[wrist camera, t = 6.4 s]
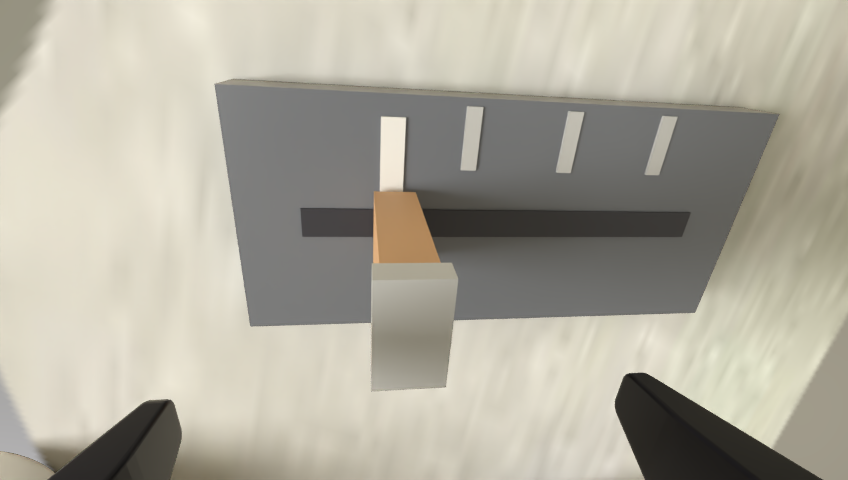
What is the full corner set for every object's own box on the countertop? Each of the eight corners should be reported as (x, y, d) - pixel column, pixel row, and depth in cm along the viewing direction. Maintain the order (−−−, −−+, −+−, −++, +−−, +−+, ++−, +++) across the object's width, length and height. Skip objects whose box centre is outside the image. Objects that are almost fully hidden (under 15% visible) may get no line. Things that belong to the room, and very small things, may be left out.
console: (668, 291, 23) (696, 314, 21) (260, 300, 20) (249, 328, 18) (739, 107, 19) (782, 114, 17) (231, 79, 15) (213, 84, 13)
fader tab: (416, 264, 17) (445, 387, 11) (368, 265, 17) (371, 391, 11) (421, 187, 16) (458, 278, 9) (368, 186, 15) (372, 280, 9)
